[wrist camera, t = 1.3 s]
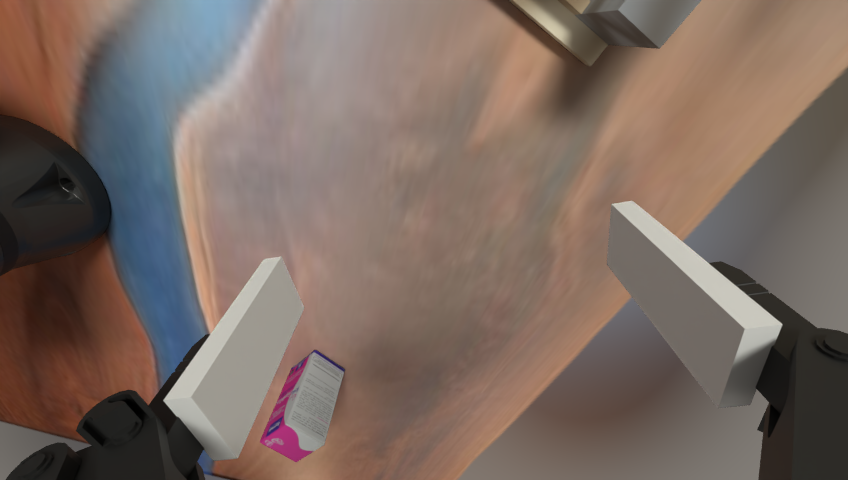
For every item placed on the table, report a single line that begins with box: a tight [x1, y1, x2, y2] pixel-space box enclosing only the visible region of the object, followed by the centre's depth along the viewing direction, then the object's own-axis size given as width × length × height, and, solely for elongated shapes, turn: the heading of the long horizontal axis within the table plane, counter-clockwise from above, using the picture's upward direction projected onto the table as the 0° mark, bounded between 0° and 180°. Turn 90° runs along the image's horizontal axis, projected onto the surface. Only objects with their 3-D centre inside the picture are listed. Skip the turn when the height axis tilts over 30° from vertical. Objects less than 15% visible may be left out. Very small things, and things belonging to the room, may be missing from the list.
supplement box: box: [260, 350, 345, 462], centre depth 48 cm, size 6×6×12 cm
